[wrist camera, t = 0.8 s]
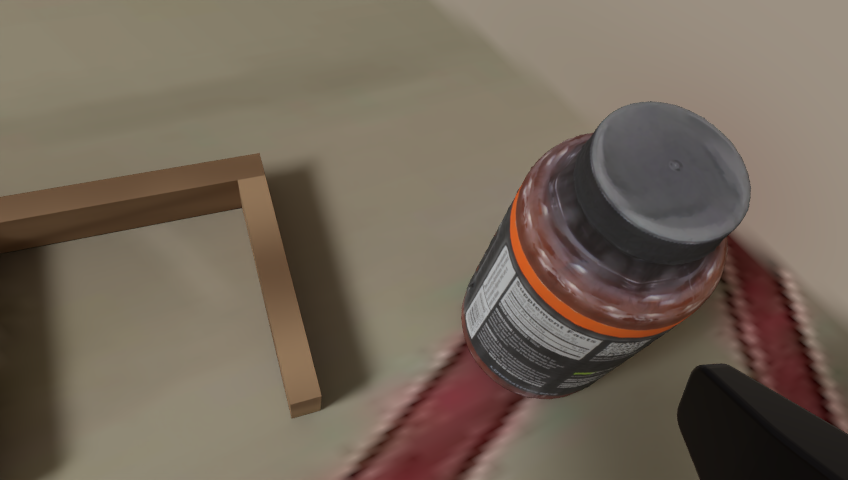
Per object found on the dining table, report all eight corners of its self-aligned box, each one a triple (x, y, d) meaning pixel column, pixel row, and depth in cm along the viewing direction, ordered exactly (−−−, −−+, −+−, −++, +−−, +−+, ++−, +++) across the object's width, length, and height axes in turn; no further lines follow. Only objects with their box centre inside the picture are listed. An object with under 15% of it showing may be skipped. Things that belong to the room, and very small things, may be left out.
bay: (320, 410, 23) (321, 396, 21) (-42, 513, 19) (-77, 506, 18) (262, 181, 26) (259, 153, 25) (-49, 238, 23) (-78, 210, 21)
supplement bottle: (534, 232, 27) (665, 33, 17) (635, 343, 26) (843, 194, 16) (424, 310, 25) (503, 131, 15) (528, 438, 23) (693, 332, 13)
